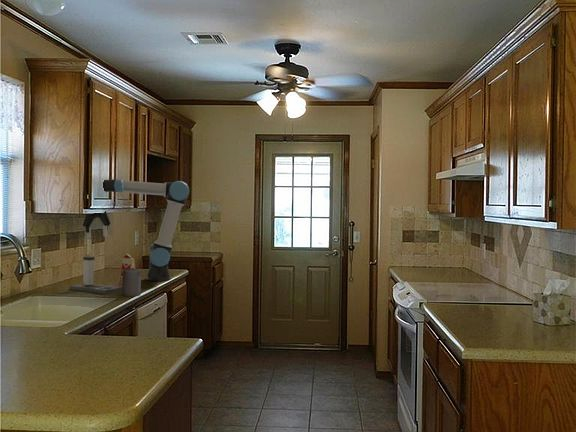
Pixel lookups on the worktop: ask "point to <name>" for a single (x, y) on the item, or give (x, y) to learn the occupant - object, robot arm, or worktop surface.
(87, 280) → the white bottle
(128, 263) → the milk carton
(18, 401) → the worktop surface
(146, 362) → the worktop surface
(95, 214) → the robot arm
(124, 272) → the pillar candle
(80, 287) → the console
